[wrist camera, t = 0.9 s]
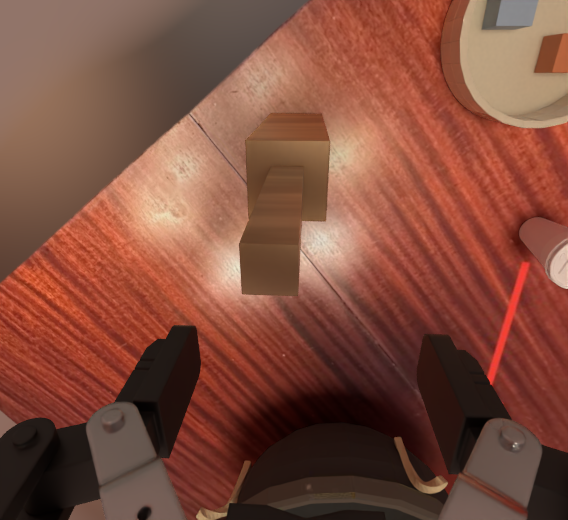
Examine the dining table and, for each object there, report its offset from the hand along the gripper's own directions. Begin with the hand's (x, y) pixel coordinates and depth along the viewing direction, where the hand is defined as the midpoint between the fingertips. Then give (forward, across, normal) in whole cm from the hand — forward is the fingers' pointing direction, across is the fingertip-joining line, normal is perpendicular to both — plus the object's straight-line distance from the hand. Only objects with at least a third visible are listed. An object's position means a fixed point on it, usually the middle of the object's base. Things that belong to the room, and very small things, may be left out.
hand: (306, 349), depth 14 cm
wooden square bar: (+17, +2, -2) cm, 17 cm away
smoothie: (+37, -29, +9) cm, 48 cm away
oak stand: (+37, +2, -2) cm, 37 cm away
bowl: (+38, -6, +52) cm, 65 cm away
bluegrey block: (+36, -19, -15) cm, 44 cm away
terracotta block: (+36, -26, -11) cm, 46 cm away
